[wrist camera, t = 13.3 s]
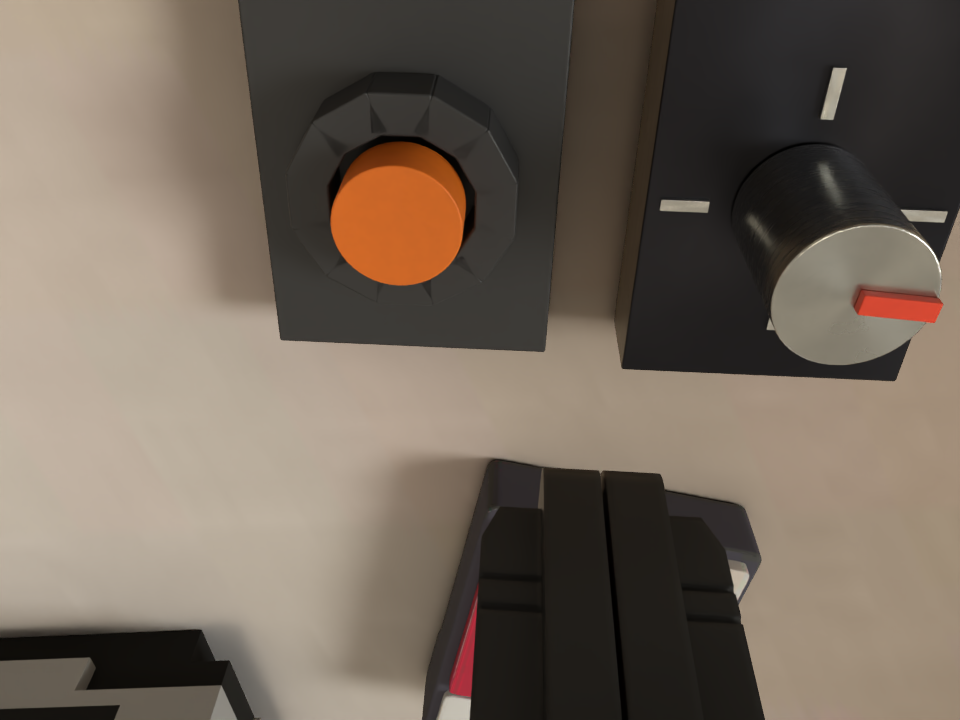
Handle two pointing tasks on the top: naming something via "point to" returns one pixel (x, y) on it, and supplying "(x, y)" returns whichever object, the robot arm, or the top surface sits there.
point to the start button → (399, 213)
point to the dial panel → (762, 134)
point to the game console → (118, 678)
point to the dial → (834, 256)
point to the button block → (422, 120)
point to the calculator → (457, 637)
